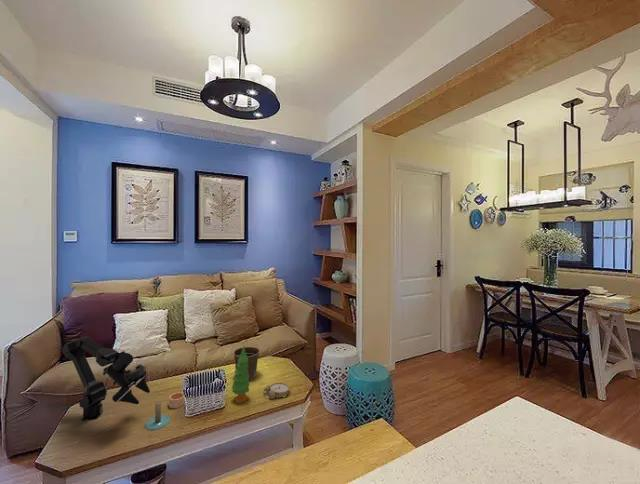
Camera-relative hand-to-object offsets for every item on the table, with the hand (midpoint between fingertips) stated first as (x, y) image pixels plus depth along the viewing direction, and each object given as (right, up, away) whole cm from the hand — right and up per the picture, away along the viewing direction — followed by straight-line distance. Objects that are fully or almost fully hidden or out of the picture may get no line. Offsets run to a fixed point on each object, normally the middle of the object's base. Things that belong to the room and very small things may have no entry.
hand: (143, 397), depth 134 cm
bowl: (+8, -12, +16) cm, 21 cm away
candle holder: (+58, -13, +28) cm, 66 cm away
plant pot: (+36, -12, +46) cm, 60 cm away
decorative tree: (+39, -13, +21) cm, 46 cm away
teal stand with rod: (+6, -12, +1) cm, 14 cm away
